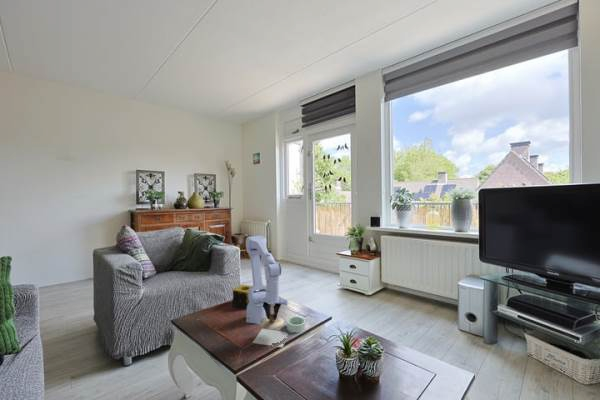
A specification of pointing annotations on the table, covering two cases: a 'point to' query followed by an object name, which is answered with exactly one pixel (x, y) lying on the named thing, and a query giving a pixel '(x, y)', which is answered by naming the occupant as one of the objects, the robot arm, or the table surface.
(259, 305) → the robot arm
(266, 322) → the lid
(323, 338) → the table surface
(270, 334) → the mat
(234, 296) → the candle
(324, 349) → the table surface
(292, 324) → the bowl
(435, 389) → the table surface
